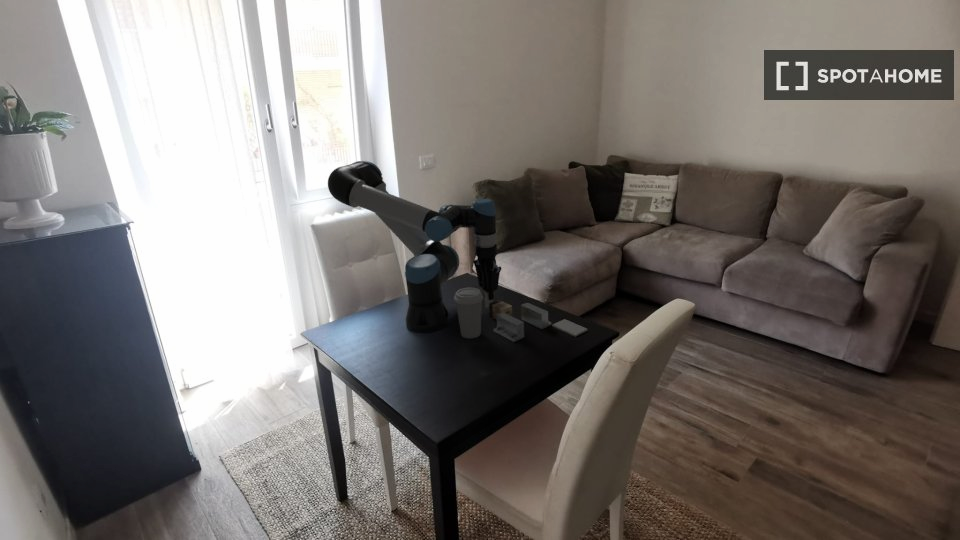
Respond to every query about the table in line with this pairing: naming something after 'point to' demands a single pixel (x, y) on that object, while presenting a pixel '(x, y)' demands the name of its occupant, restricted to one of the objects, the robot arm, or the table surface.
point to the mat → (570, 327)
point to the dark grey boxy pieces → (521, 322)
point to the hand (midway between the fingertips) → (489, 306)
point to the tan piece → (499, 308)
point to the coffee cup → (469, 311)
